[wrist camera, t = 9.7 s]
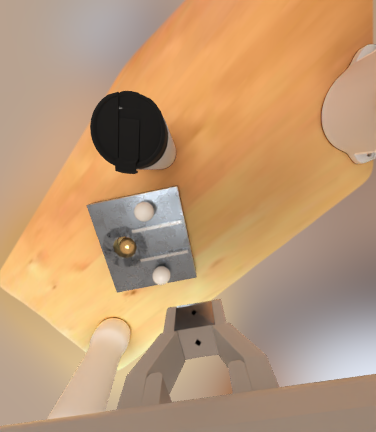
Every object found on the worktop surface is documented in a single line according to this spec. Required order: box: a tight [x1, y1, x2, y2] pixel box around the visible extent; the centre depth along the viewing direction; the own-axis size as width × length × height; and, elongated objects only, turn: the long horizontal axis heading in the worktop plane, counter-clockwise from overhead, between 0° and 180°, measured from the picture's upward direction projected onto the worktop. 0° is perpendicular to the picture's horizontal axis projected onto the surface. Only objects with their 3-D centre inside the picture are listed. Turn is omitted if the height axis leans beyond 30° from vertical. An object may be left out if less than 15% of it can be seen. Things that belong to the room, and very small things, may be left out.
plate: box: [87, 186, 196, 292], centre depth 36 cm, size 17×19×3 cm
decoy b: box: [134, 202, 154, 222], centre depth 32 cm, size 4×4×4 cm
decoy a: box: [152, 266, 171, 285], centre depth 35 cm, size 4×4×4 cm
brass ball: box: [119, 237, 137, 254], centre depth 36 cm, size 4×4×4 cm
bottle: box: [46, 318, 130, 420], centre depth 29 cm, size 8×8×30 cm
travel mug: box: [90, 91, 176, 174], centre depth 24 cm, size 6×7×20 cm
